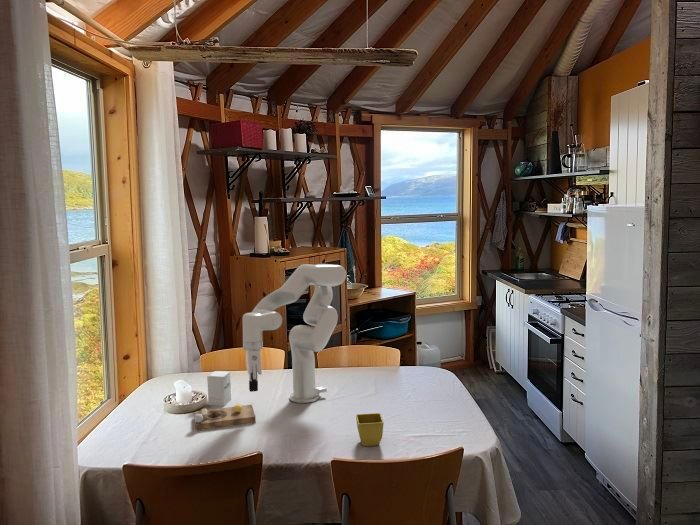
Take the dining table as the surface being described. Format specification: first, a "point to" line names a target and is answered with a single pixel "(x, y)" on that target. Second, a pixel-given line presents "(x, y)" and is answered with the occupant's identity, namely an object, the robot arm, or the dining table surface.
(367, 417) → the flower pot
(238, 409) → the ball
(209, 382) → the supplement box
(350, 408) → the dining table surface
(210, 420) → the board
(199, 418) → the grey ball
